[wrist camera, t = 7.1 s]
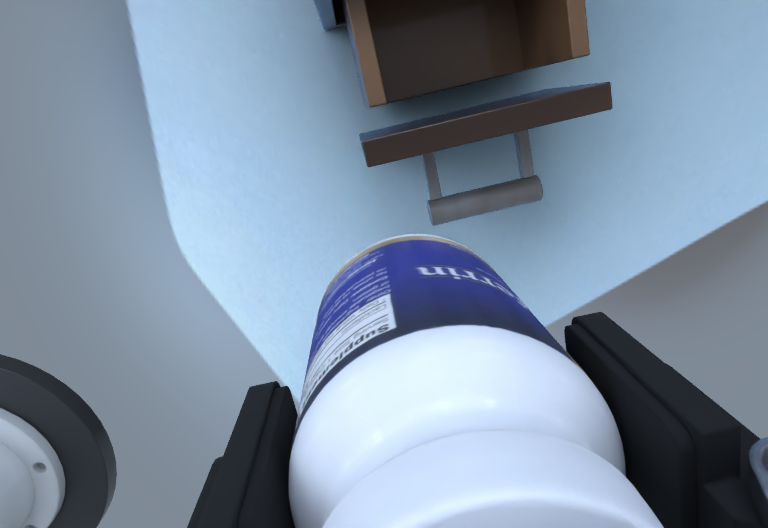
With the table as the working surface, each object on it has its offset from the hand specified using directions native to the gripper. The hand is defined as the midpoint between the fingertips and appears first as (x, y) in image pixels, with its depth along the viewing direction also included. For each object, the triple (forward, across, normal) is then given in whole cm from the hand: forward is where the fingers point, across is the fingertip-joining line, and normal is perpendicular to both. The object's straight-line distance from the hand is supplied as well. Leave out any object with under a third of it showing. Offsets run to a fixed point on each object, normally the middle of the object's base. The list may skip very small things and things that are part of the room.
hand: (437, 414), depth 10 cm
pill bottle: (+5, 0, 0) cm, 5 cm away
